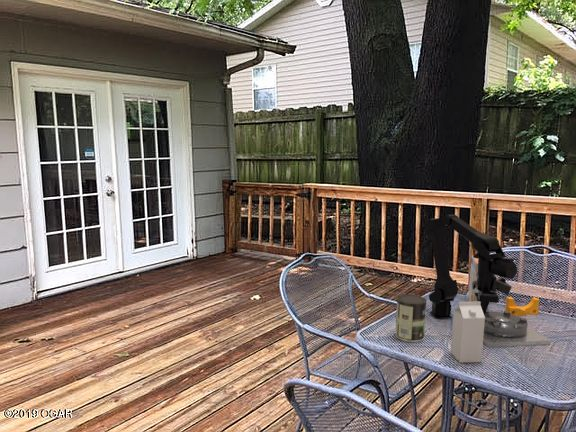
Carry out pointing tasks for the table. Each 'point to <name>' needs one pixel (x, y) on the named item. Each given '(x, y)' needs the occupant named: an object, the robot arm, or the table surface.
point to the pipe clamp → (522, 311)
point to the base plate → (515, 339)
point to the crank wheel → (505, 324)
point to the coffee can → (410, 318)
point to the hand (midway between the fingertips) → (483, 314)
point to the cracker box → (473, 279)
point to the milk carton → (468, 332)
